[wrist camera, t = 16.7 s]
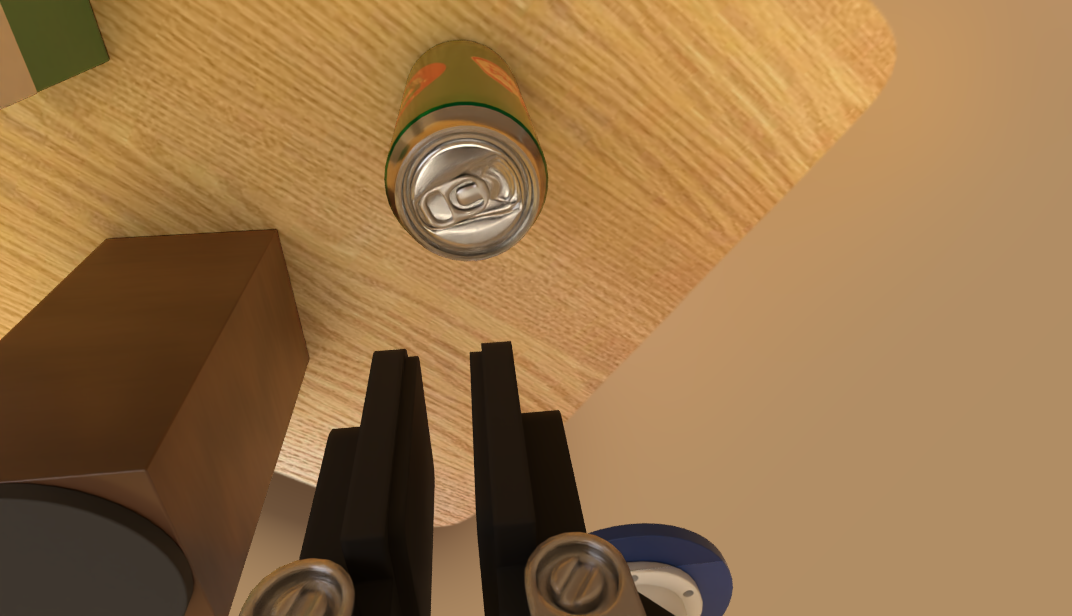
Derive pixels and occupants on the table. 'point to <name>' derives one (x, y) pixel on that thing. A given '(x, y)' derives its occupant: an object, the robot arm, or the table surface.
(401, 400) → the robot arm
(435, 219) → the soda can
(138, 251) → the pedestal
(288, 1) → the table surface
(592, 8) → the table surface
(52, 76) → the block
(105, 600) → the coaster
